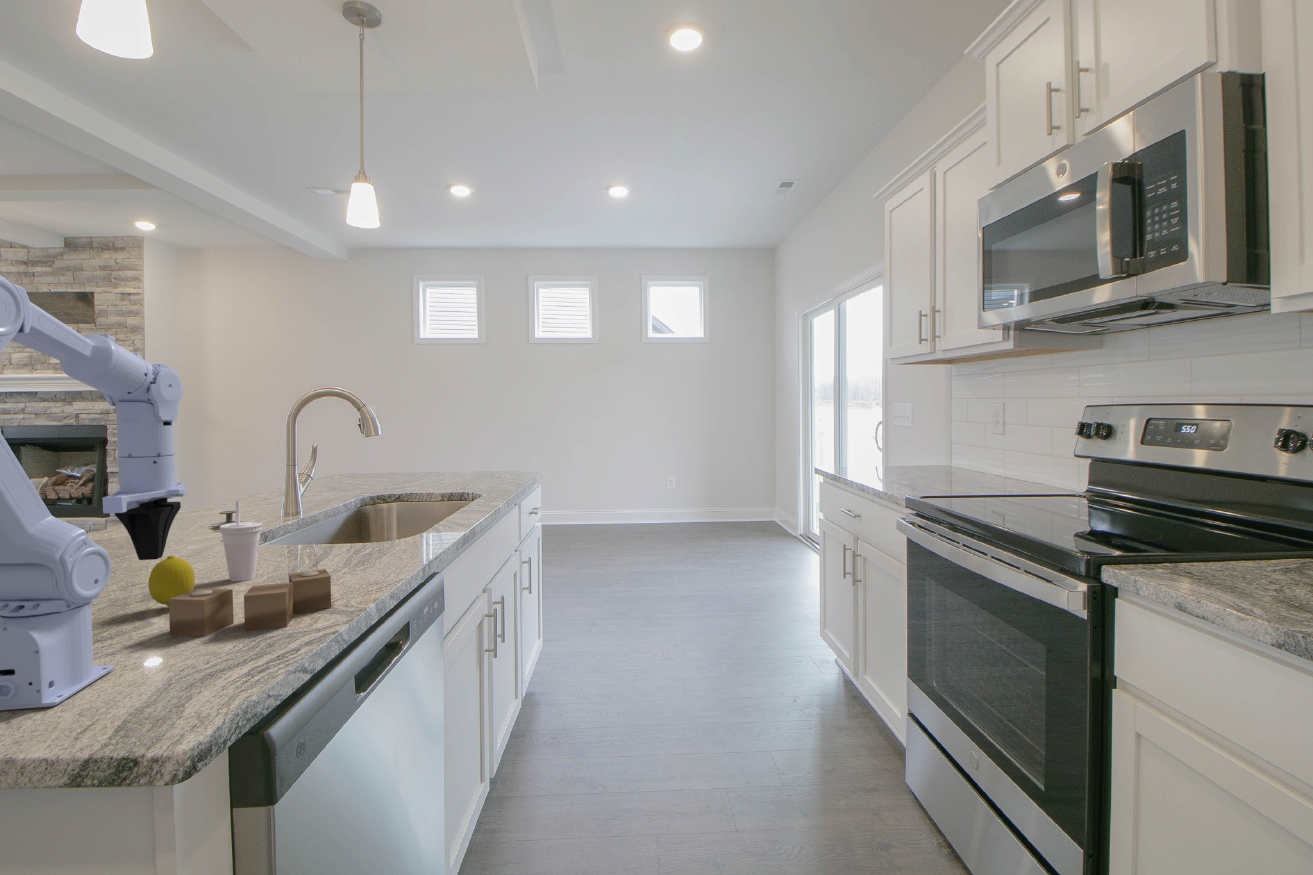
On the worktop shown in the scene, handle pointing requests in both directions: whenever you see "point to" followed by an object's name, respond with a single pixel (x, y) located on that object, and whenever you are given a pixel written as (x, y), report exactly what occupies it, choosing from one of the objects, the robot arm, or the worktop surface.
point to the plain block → (268, 606)
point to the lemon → (170, 579)
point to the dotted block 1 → (200, 612)
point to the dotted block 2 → (311, 590)
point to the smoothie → (241, 547)
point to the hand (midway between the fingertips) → (150, 558)
